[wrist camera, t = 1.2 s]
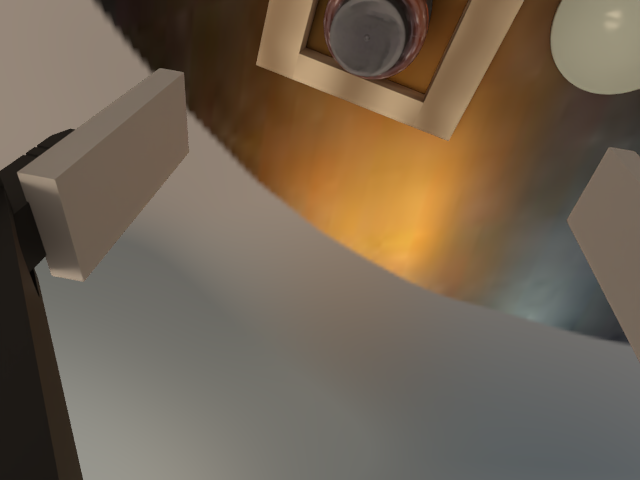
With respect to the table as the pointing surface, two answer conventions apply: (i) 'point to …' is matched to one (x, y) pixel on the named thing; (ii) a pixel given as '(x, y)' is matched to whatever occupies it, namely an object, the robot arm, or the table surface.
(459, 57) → the oak holder
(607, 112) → the table surface
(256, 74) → the table surface
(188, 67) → the table surface
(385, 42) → the supplement bottle
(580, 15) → the cream flat disc
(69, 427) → the robot arm
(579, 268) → the table surface
